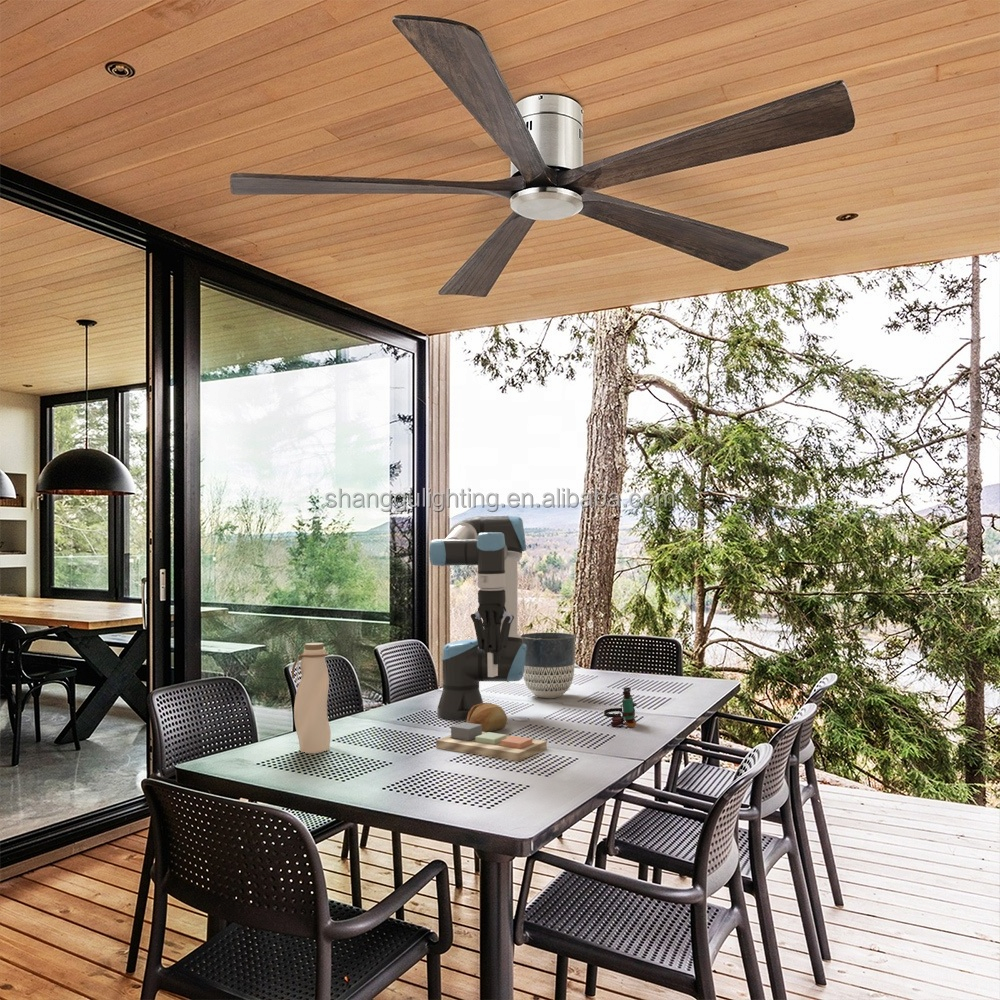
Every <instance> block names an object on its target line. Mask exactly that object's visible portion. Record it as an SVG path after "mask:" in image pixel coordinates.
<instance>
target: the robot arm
mask: <svg viewBox="0 0 1000 1000" xmlns="http://www.w3.org/2000/svg"><path fill="white" fill-rule="evenodd" d="M524 527H525V526H524V522H523V519H522V518H521V517H520V516H518V515H517V516H516V515H514V516H513V515H501V516H500V515H499V516H498V515H496V516H493V515H492V516H490V515H489V516H479V515H478V516H474V517H473V516H472V517H469V518H466V519H462V520H460V521H459V522H457V523H455V524H454V525H453V526H452V527H450V530H449V532H448V535H447V536H446V537H445V538H444V539H442V538H439V539H432V540H430V543H429V549H428V551H429V562H430V564H431V565H432V566H441V567H444V566H445V567H446V566H477V588H478V589H479V590H477V603H478V606H477V607H478V608H477V611H476V612H474V613H471V614H470V619H471V621H472V623H473V626H474V631H475V635H476V639H475V638H473V639H463V640H462V639H461V640H458V641H451V642H448V643H446V644H445V645H444V646H443V648H442V658H441V661H442V691H441V695H440V698H439V702H438V706H437V710H436V711H437V712H436V714H437V717H438V718H441V719H445V720H458V721H459V720H461V721H462V720H467V716H468V713H469V711H470V709H471V708H472V707H473V706H475V705H477V704H480V703H484V701H483V698H482V694H481V691H480V682H506V683H509V682H518V681H521V680H522V679H523V678H524V677H523V674H524V669H525V661H526V651H527V645H526V644H524V643H523V644H522V638H521V637H520V636H521V635H520V634H519V633H518V561H520V559H521V558H522V557H523V552H525V551H527V543H526V534H525V529H524Z"/></svg>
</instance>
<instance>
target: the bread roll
mask: <svg viewBox="0 0 1000 1000" xmlns="http://www.w3.org/2000/svg"><path fill="white" fill-rule="evenodd" d="M466 723H473V724H480V725H482V732H493V731H496V730H497V731H498V730H503V729H504V728H505V727H506V726H507V724H508V715H507V714H506V712H505V710H504V709H503V707H501V706H499V705H497V704H495V703H491V702H483V703H480V704H477V705H475V706H473V707H472V708H471V709H470V711H469V713H468V716H467V719H466Z"/></svg>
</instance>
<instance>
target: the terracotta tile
mask: <svg viewBox="0 0 1000 1000" xmlns="http://www.w3.org/2000/svg"><path fill="white" fill-rule="evenodd" d="M510 736H511V737H509V738H506V739H504V740H501V746H503V747H509V748H516V749H523V748H525V747H528V746H530V745H532V739H533V738H531V737H524V736H523V737H522V736H517V735H510Z"/></svg>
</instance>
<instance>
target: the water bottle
mask: <svg viewBox="0 0 1000 1000" xmlns="http://www.w3.org/2000/svg"><path fill="white" fill-rule="evenodd" d="M325 649H326V648H325V647H324V642H308V643H307V642H306V643H304V649H303V652H302V653H301V654H297V658H296V659H295V661H294V662H293V665H292V669H291V678H292V679H295V668H296V679H295V683H296V684H297V683H298V682H299V684H298V685H297V689H296V693H295V697H294V707H293V718H294V719H293V720H294V726H295V730H296V735H297V739H298V743H299V752H300V751H301V752H300V753H302V752H305V753H304V754H318V753H317V752H320V753H323V752H322V751H325V752H327V751H329V750H330V747H331V746H330V745H331V735H332V732H331V725H330V722H329V719H328V697H329V687H330V678H329V670H328V665H327V663H326V662H327V661H326V657H327V656H329V652H326V650H325ZM300 659H301V661H300ZM299 665H300V666H299ZM299 668H300V669H299ZM299 670H300V674H301V678H300V681H299ZM328 749H329V750H328ZM326 750H327V751H326Z"/></svg>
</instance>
